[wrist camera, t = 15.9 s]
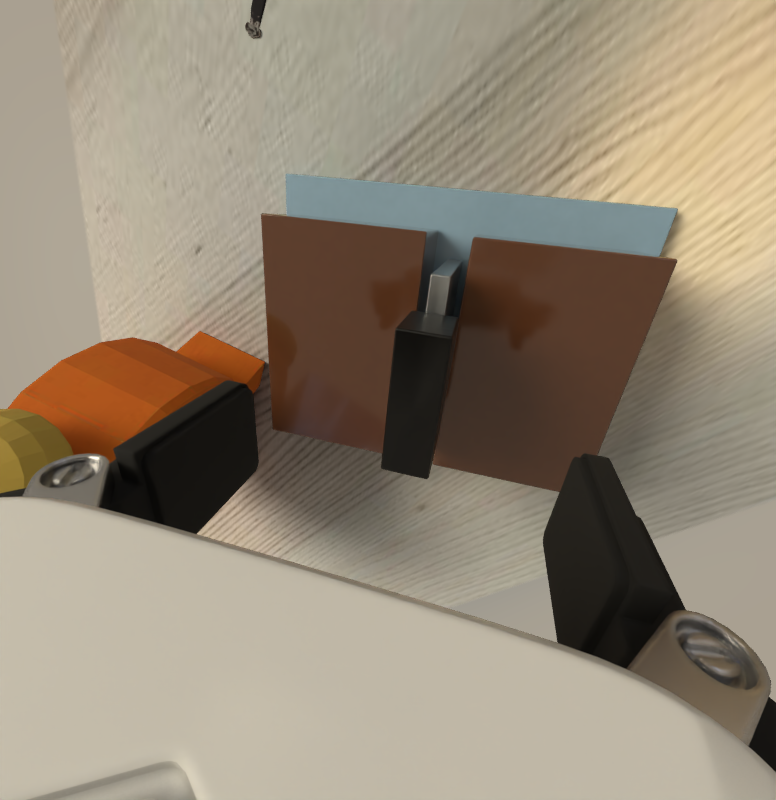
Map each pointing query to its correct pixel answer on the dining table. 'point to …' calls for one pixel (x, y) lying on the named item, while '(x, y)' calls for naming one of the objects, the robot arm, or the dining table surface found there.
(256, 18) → the knife
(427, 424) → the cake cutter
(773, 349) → the dining table surface
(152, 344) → the alarm clock
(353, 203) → the cake
